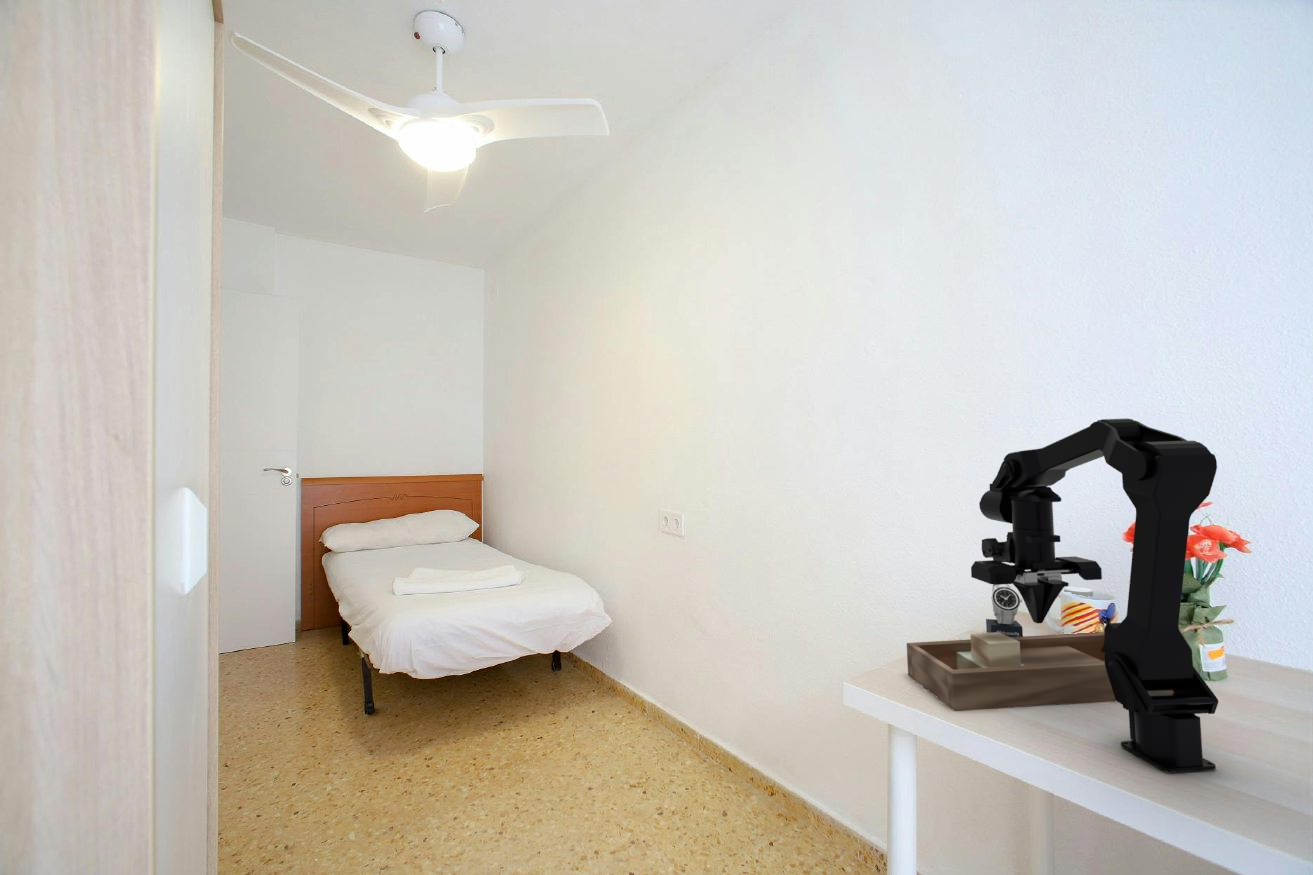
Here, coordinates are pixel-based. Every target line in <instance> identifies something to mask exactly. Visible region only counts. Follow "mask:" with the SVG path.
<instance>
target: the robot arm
mask: <svg viewBox="0 0 1313 875" xmlns="http://www.w3.org/2000/svg"><path fill="white" fill-rule="evenodd" d="M1103 457H1104V461H1105V463H1106V464H1107V465H1109V466H1110V467H1112V468H1113V469H1115V470H1116V471H1118V472H1119V474H1121V478H1122V479H1121V481H1122V489H1123V491H1124V492H1125V494H1126V496H1127V497H1128V498H1129V501H1130V502H1131V504H1132V505H1133V507H1134V508H1135V522H1134V523H1135V524H1134V532H1133V534H1134V535H1133V542H1132V554H1131V566H1130V576H1129V586H1128V597H1127V598H1128V599H1127V607H1126V609H1127V610H1126V616H1125V618H1124V619H1123V620H1122V621H1121V622H1109V623H1107V622H1106V625H1105V627H1104V630H1103V632H1104V637H1105V640H1104V646H1103V648H1102V649H1101V651H1102V652H1105V667H1106V670H1107V674H1108V677H1109V680H1110V683H1111V687H1112V690H1113V693H1114V696H1115V700H1116V701H1115V702H1117V703H1119V704H1121V705H1122V708H1123V709H1125V710H1126V711H1128V721H1129V722H1128V723H1129V737H1130V739H1131V740H1126V741H1125V740H1124V741H1120V746H1121V747H1122V748H1124V749H1125V750H1127V751H1128V752H1130V753H1131V754H1134V755H1135V756H1137V757H1139V758H1141V759H1142V760H1144V761H1146V762H1147V763H1149V764H1151V765H1153V766H1155V767H1156V768H1157V769H1159V770H1161V771H1162V772H1165V773H1180V772H1181V773H1182V772H1183V773H1184V772H1196V771H1210V770H1211V771H1212V770H1217V769H1216V767H1217V766H1216V764H1215V763H1214V762H1212V761H1210V760H1208V759H1206V758H1204V757H1203V744H1202V742H1203V741H1202V740H1203V739H1202V729H1201V728H1202V727H1201V717H1200V716H1198V714H1208V715H1214V714H1215V713H1216V710H1217V708H1218V705H1219V699H1218V697H1217V696H1216V695H1215V693H1214V692H1213V691H1212V689H1211V688H1210V687H1209V685H1208V684H1207V683H1206V681H1205V680H1204V678H1203V677H1202V675H1201V674H1200V673H1199V672H1198V670H1196V668H1195V667H1194V658H1193V649H1192V648H1191V647H1192V646H1191V645H1190V644H1189V643H1188V641H1187V639H1186V637H1185V636H1184V634H1183V633H1182V631H1181V630H1180V626H1179V622H1180V613H1181V606H1182V605H1181V604H1182V603H1181V601H1182V593H1183V584H1184V576H1185V565H1186V557H1187V547H1188V538H1189V528H1190V520H1191V516H1192V515H1193V514H1194V513H1195V511H1196V510H1197V509H1198V508H1199V507H1200V505H1202V503H1203V502H1204V501H1205V500H1206V499H1207V498H1208V497H1209V496H1210V494H1211V491H1212V487H1213V484H1214V481H1215V480H1214V479H1215V478H1216V473H1217V468H1218V464H1217V463H1218V462H1217V459H1216V455H1215V454H1214V453H1211V451H1210V450H1209V449H1208V447H1207V446H1205V445H1204V444H1203V443H1201V442H1200V441H1197V440H1196V441H1195V440H1188V439H1186V438H1183V437H1182V436H1179V435H1176V434H1172V433H1169V432H1166V431H1162V430H1159V429H1156V428H1152V427H1150V426H1147V425H1146V424H1143V423H1142V422H1140V421H1138V420H1134V419H1132V418H1105V419H1098V420H1096V421H1093V422H1092V423H1091V424H1090V425H1089V426H1088V427H1085V428H1082V429H1080V430H1078V431H1076V432H1074V433H1072V434H1070V435H1068V436H1064V437H1063V438H1061V439H1058V440H1056V441H1055V442H1053V443H1051V444H1048V445H1046V446H1044V447H1039V448H1034V449H1028V450H1018V451H1013V452H1010V453H1009V452H1008V453H1007V454H1006V455H1005V456H1004V457H1003V461H1002V463H1001V465H1000V467H999V470H998V471H997V474H996V476H995V478H994V479H993V481H992V483H989V489H988V490H987V491H985V492H984V493H983V495H982V496H981V498H980V500H979V502H978V503H979V510H980V512H981V514H982V515H983V516H984V517H985V518H986V519H989V520H993V521H996V522H1002V523H1007V524H1012V531H1007V534H1006V541H999V540H998V539H997V538H996V537H992V538H991V537H990V538H989V537H988V538H984V539H981V552H982V556H983V557H984V558H985V559H989V558H991V559H992V560H991V559H990V560H975V561H974V562H973V563H972V565H971V567H970V573H971V575H970V576H971V578H973V579H976V580H978V581H981V582H983V583H986V584H989V585H993V584H994V585H1001V584H1008V585H1013V586H1014V587H1015V588H1016V589H1017V591H1018V593H1019V594H1020V596H1021V599H1022V601H1023V602H1024V604H1025V607H1026V609H1027V611H1028V613H1029V616H1030V618H1031V620H1032V622H1033V623H1035V624H1042V623H1043V622H1044V620H1045V619H1046V617H1047V614H1049V612H1050V611H1051V608H1052V606H1053V604H1054V602H1055V601H1056V600H1057V598H1058V596H1059V595H1060V593H1061V592H1062V591H1063V590H1064V588H1065V587H1070V586H1069V584H1070V583H1069V582H1067V581H1063V577H1062V575H1075V574H1076V575H1078V576H1079V577H1080V578H1082V580H1084V581H1096V580H1102V579H1103V571H1102V570H1103V569H1102V567H1101V566H1100V565H1099V563H1098V562H1097V561H1096V560H1092V559H1089V558H1083V557H1078V556H1076V555H1075V556H1058V557H1057V556H1056V549H1055V548H1056V546H1055V543H1061V535H1057V534H1055V527H1054V509H1053V505H1054V504H1053V503H1061V502H1062V497H1061V496H1060V495H1059V494H1058V493H1056V492H1054V491H1053V490H1052V488H1051V486H1054V485H1055V484H1056V483H1058V482H1060V481H1061V480H1062V479H1064V478H1065V477H1066V473H1067V471H1070V470H1071V469H1074V468H1076V467H1078V466H1082V465H1085V464H1086V463H1089V462H1092V461H1095V460H1097V459H1100V458H1103ZM1160 690H1173V693H1171V694H1148V692H1147V691H1160Z"/></svg>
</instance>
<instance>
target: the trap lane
mask: <svg viewBox="0 0 1313 875" xmlns="http://www.w3.org/2000/svg"><path fill="white" fill-rule="evenodd" d="M1010 638H1012V639H1014V640H1017V641H1019V642H1020V657H1021V666H1006V667H989V668H988V667H986V666H985V665H983V664H981V663H980V662H978V661H976V660H975V659H973V658H972V654H971V638H969V639H956V640H955V639H953V640H939V641H938V640H935V641H934V640H933V641H918V642H906V660H907V662H906V663H907V676H909V677H911V679H913V680H914V679H915V680H916V681H915V680H914V681H915V682H917V683H918V684H919V685H920V686H922V687H923V686H924V687H925V688H924V687H923V688H924V689H926V690H927V689H928V690H929V691H928V690H927V691H928V692H930V693H931V694H932V693H933V694H934V695H933V694H932V695H933V696H935V697H936V696H937V697H938V698H937V697H936V698H937V699H938V700H940V701H941V700H942V701H943V702H942V701H941V702H942V703H944V704H945V705H946V706H948V707H949V708H950V709H951V710H952V711H954V712H957V711H958V712H959V711H975V710H989V709H991V710H992V709H1005V708H1006V709H1007V708H1021V707H1037V706H1052V705H1056V706H1057V705H1068V704H1085V703H1101V702H1114V701H1115V702H1117V701H1116V700H1115V696H1114V693H1113V690H1112V687H1111V683H1110V680H1109V677H1108V674H1107V670H1106V667H1105V652H1102V651H1101V649H1102V648H1103V646H1104V640H1105V637H1104V631H1102V632H1101V631H1098V632H1095V633H1077V634H1063V633H1062V634H1060V633H1059V634H1046V635H1045V634H1044V635H1043V634H1042V635H1027V636H1026V635H1025V636H1024V635H1023V637H1010ZM1147 692H1148V694H1171V693H1173V690H1160V691H1147Z"/></svg>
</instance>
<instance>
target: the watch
mask: <svg viewBox="0 0 1313 875" xmlns="http://www.w3.org/2000/svg"><path fill="white" fill-rule="evenodd" d="M991 602H992V612H993V615H994V617H995V619H991V618H986V619H985V624H986V633H994V632H1000V633H1002V634H1004V635H1006V636H1008V637H1023V636H1024V634H1023V631H1024V630H1023V626H1022V625H1021V624H1020V623H1019V622H1018V620H1015V618H1016V617H1015V616H1017V614H1018V611H1019V607H1020V605H1021V603H1023V598H1022V597H1021V598H1020V595H1019V594H1018V592H1017V591H1015V589H1014V588H1013V587H1012V585H1011V586H1010V584H1001V585H994V584H992V594H991Z"/></svg>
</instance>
